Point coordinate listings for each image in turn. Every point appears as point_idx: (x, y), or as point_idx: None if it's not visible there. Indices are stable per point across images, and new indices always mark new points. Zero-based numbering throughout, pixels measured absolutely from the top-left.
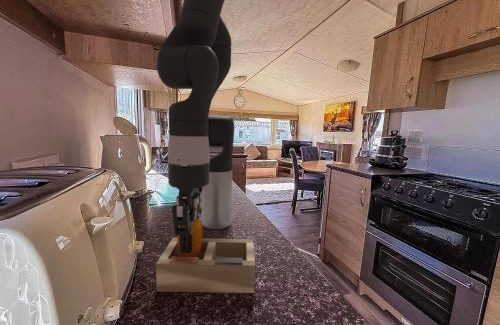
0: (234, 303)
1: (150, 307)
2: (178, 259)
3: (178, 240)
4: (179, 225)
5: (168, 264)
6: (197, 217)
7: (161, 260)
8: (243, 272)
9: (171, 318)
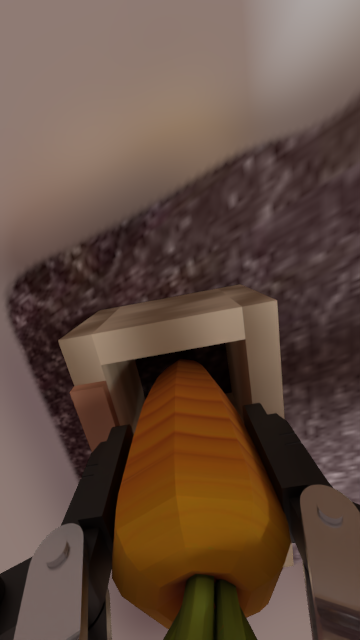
0: None
1: (49, 324)
2: (92, 418)
3: (148, 424)
4: (21, 635)
5: (75, 382)
6: (305, 586)
7: (84, 349)
8: None
9: (40, 382)
